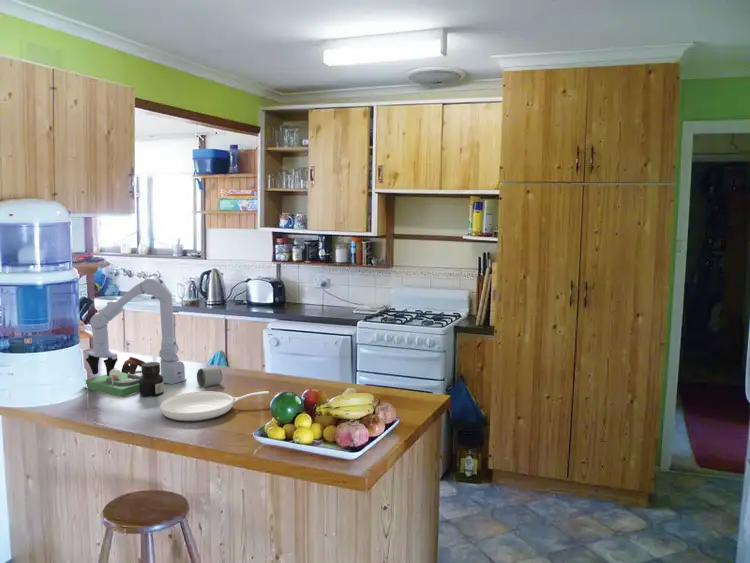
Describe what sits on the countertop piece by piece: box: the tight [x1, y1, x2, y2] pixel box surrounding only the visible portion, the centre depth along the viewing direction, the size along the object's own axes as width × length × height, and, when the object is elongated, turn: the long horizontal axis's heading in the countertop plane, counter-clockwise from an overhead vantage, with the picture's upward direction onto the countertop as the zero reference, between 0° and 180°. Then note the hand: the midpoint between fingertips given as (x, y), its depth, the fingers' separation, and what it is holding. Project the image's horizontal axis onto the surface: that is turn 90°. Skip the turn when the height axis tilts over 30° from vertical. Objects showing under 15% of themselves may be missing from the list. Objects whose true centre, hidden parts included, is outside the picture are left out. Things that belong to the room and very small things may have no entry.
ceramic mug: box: [196, 366, 223, 388], centre depth 250 cm, size 11×8×8 cm
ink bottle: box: [139, 361, 165, 398], centre depth 237 cm, size 10×9×12 cm
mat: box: [85, 372, 142, 398], centre depth 247 cm, size 24×16×4 cm, turn 60°
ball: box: [109, 367, 122, 379], centre depth 248 cm, size 4×4×4 cm
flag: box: [111, 374, 117, 387], centre depth 237 cm, size 3×1×8 cm, turn 60°
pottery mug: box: [120, 356, 146, 375], centre depth 268 cm, size 12×10×8 cm
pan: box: [159, 390, 270, 422], centre depth 219 cm, size 25×38×5 cm, turn 111°
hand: (102, 374), depth 252 cm, fingers open, 7 cm apart
